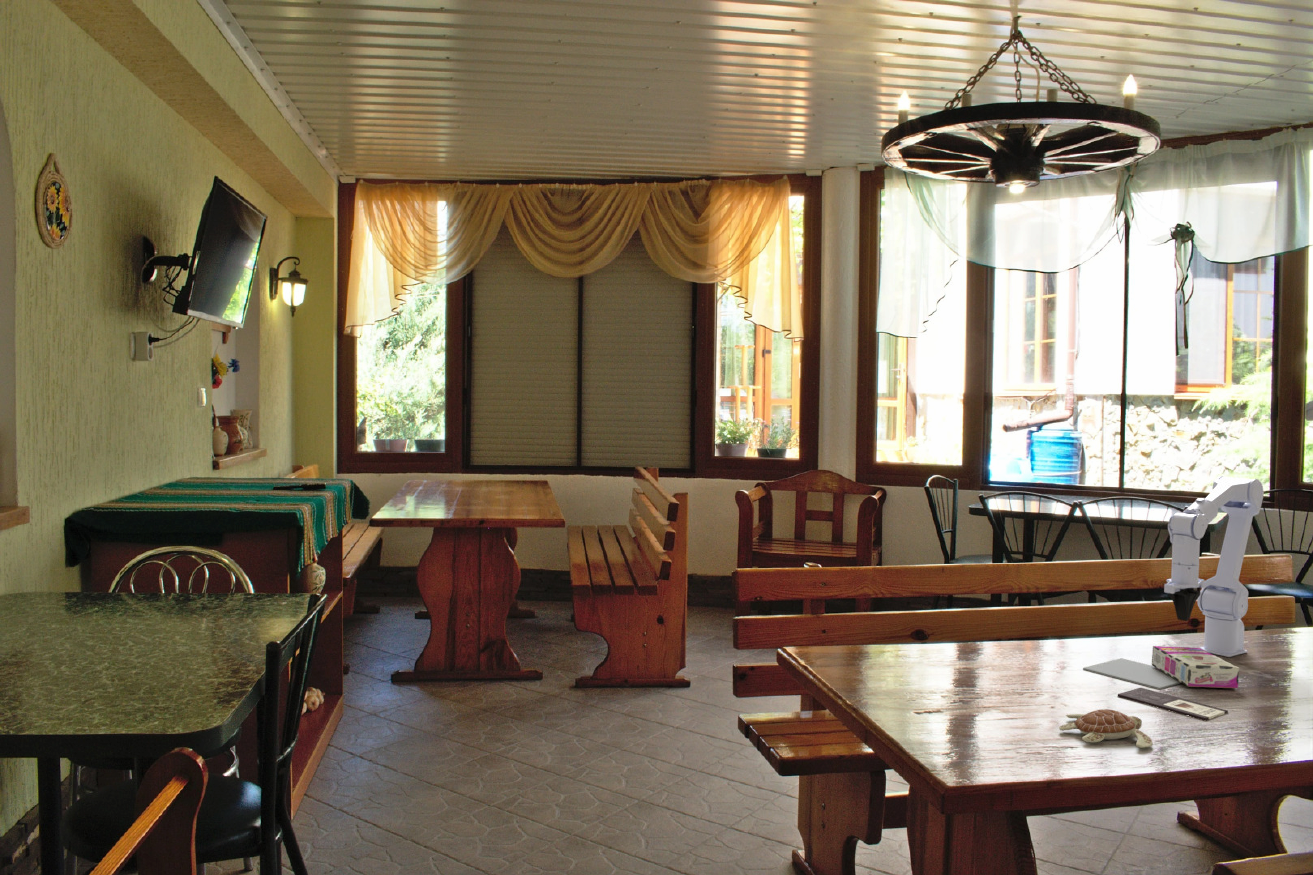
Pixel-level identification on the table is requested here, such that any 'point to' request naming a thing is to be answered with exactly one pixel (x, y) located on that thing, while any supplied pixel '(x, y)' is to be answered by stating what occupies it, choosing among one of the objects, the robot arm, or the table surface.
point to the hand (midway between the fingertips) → (1183, 619)
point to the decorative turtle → (1108, 726)
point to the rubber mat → (1134, 673)
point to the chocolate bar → (1173, 703)
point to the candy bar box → (1195, 667)
